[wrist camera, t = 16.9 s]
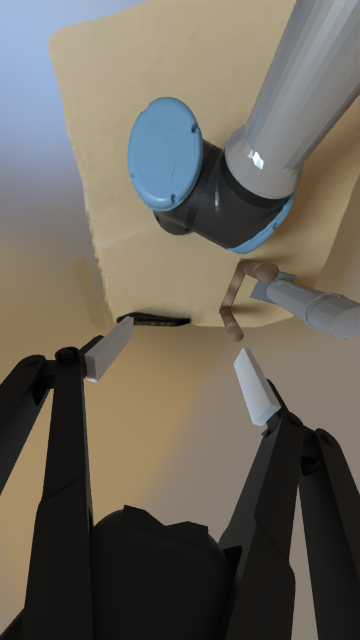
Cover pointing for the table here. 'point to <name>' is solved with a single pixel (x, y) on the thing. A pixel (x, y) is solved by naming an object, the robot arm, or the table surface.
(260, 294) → the pad
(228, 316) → the gate
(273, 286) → the water bottle
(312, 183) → the table surface
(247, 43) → the table surface
